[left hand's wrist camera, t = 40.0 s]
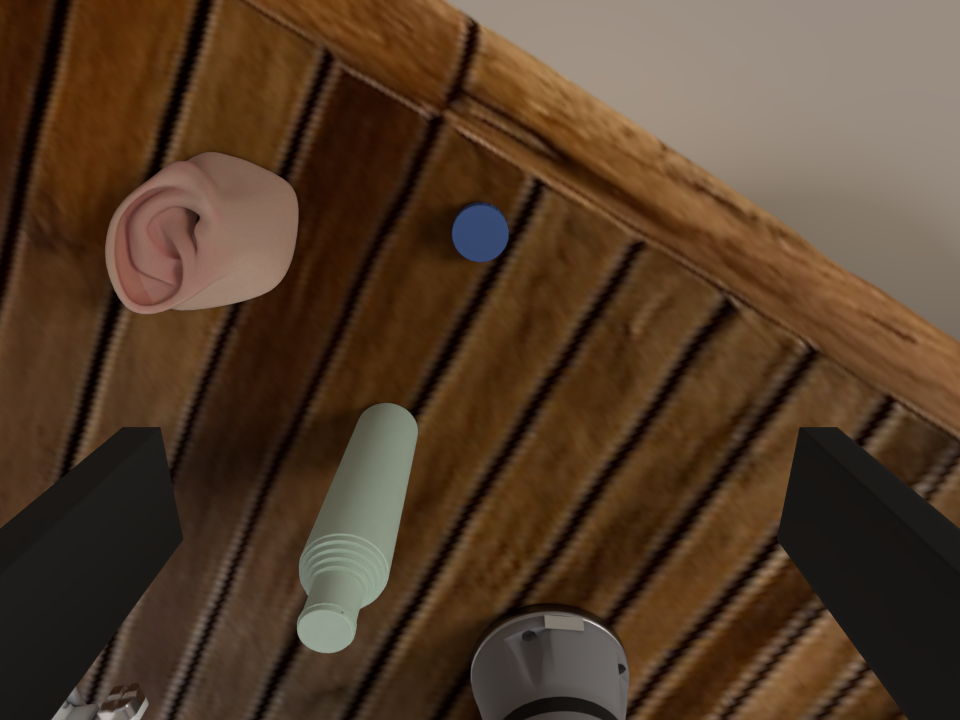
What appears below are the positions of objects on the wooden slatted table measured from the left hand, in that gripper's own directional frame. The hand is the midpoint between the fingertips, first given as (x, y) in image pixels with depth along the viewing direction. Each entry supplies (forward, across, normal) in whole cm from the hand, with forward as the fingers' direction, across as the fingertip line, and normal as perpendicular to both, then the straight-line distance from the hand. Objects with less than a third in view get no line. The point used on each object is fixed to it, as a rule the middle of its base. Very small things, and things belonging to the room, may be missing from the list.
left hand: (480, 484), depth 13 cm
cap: (+33, 0, 0) cm, 33 cm away
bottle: (+35, +8, +17) cm, 40 cm away
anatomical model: (+35, +20, 0) cm, 40 cm away
